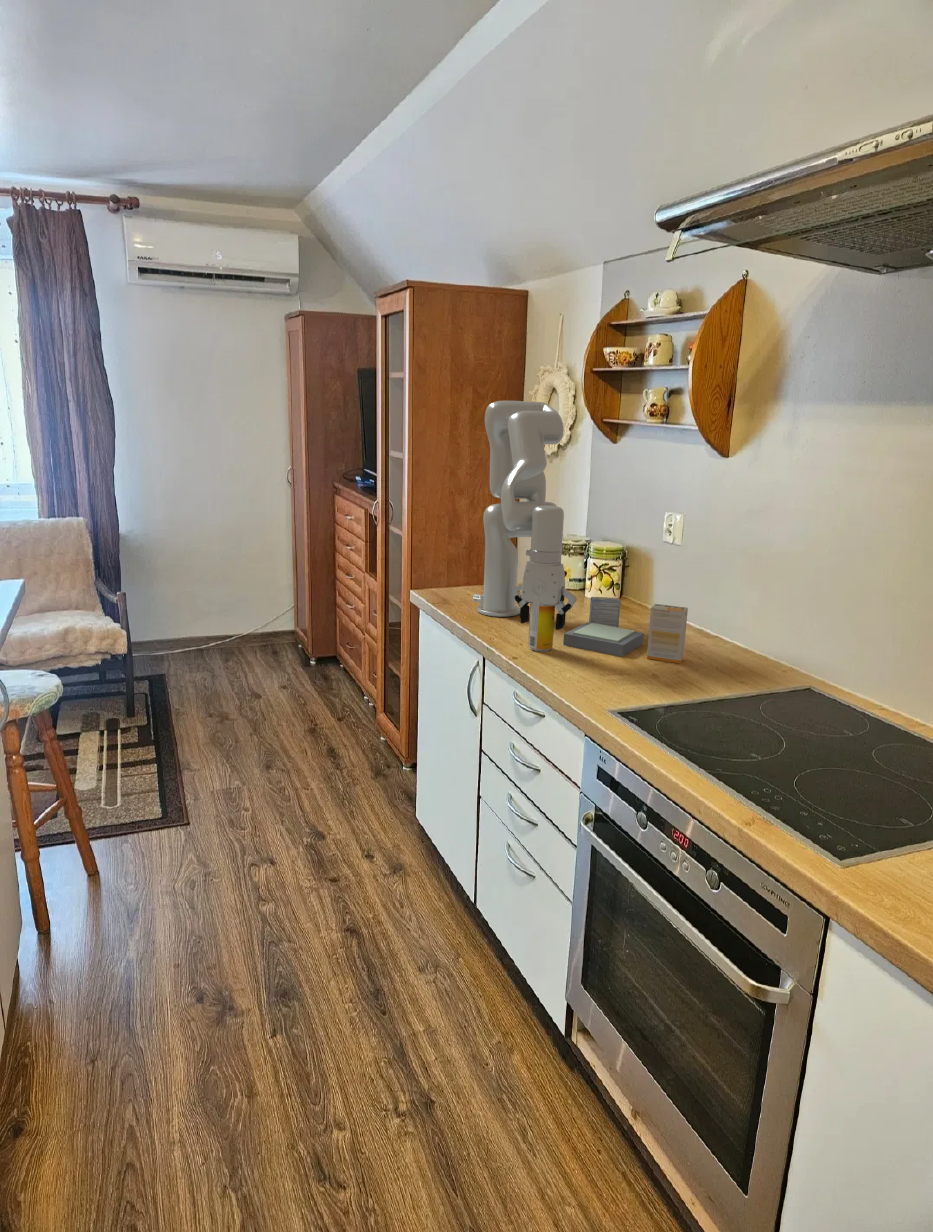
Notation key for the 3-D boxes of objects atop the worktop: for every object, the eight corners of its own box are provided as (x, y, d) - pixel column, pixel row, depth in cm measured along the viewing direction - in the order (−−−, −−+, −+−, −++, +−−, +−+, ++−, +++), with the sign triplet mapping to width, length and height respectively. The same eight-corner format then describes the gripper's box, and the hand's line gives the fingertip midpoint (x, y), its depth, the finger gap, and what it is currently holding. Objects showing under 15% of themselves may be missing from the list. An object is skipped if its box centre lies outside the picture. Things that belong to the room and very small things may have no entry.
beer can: (557, 649, 204) (561, 590, 200) (542, 654, 199) (545, 594, 196) (538, 644, 208) (541, 586, 204) (522, 648, 203) (526, 589, 200)
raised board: (563, 644, 208) (564, 631, 207) (586, 633, 219) (586, 620, 218) (622, 656, 200) (623, 643, 199) (642, 644, 211) (644, 631, 210)
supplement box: (683, 659, 200) (689, 607, 196) (680, 664, 195) (685, 611, 192) (650, 654, 203) (654, 602, 200) (645, 658, 199) (650, 606, 195)
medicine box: (617, 628, 226) (619, 597, 224) (618, 632, 222) (621, 601, 219) (588, 626, 226) (590, 596, 224) (589, 630, 222) (591, 599, 220)
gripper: (507, 555, 199) (504, 622, 203) (571, 563, 190) (567, 634, 194) (521, 551, 205) (518, 617, 209) (584, 559, 196) (580, 628, 200)
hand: (541, 625), depth 202 cm, fingers open, 9 cm apart
